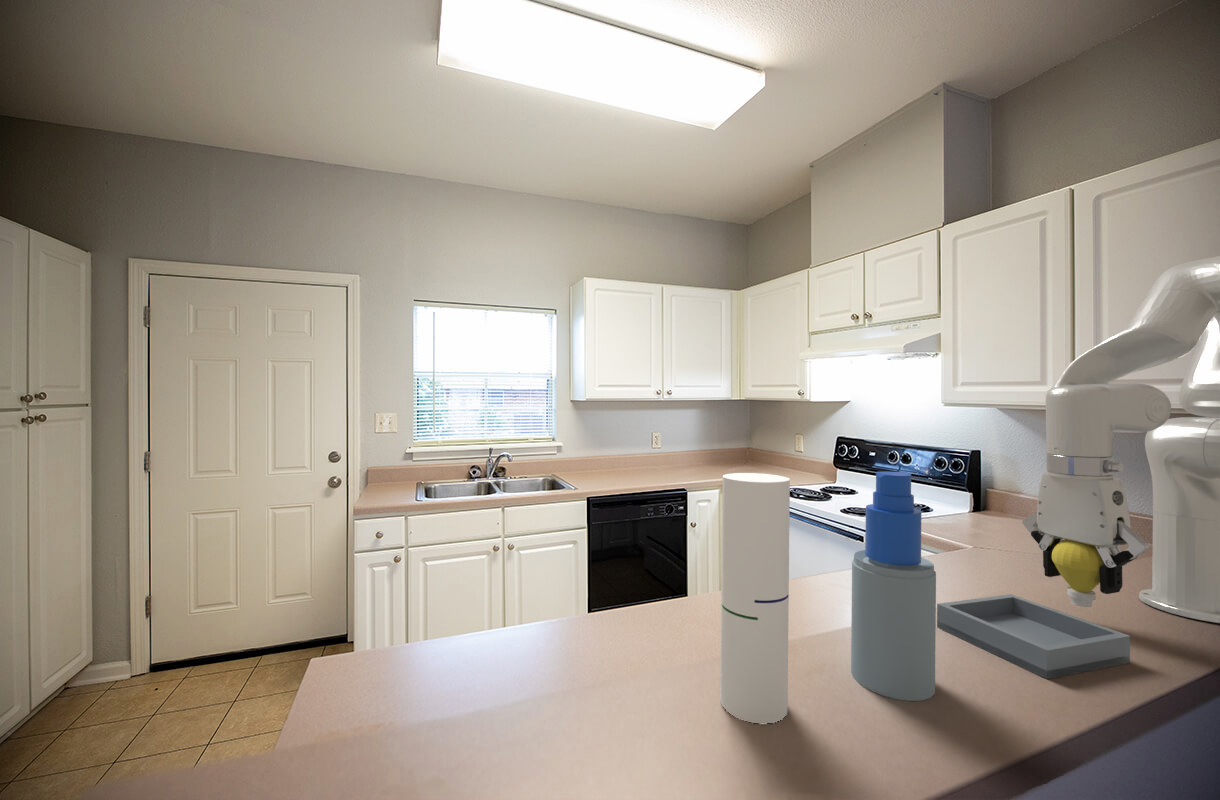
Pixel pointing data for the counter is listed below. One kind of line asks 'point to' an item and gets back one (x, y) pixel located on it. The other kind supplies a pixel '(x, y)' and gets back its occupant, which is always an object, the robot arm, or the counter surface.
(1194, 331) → the robot arm
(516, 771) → the counter surface
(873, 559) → the spray bottle
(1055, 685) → the counter surface
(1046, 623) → the tray
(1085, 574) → the light bulb
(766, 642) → the cylindrical container
